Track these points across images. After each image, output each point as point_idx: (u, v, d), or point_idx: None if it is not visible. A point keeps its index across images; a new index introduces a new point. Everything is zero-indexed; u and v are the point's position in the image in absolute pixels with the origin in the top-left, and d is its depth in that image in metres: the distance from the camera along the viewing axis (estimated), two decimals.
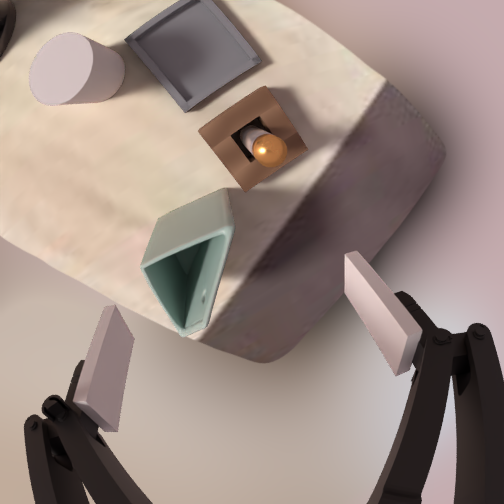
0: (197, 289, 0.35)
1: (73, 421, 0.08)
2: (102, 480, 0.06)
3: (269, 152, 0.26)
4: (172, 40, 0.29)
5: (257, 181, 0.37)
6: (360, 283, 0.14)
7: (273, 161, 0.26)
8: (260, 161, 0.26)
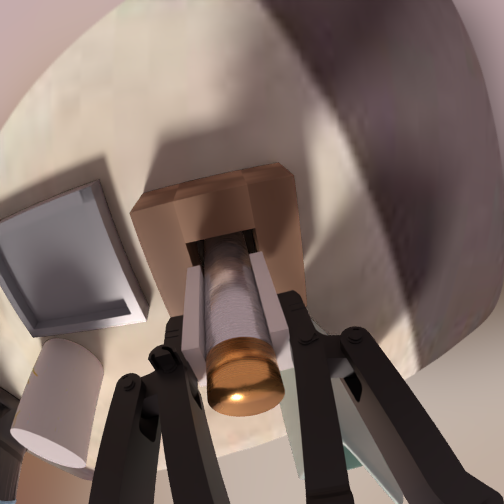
0: None
1: (180, 377, 0.10)
2: (187, 448, 0.07)
3: (246, 400, 0.10)
4: (42, 288, 0.21)
5: (301, 284, 0.20)
6: None
7: (270, 398, 0.10)
8: (257, 412, 0.11)
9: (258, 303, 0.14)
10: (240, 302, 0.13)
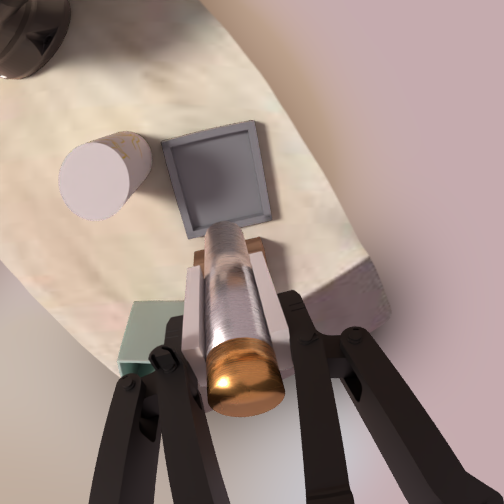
0: None
1: (180, 377, 0.10)
2: (187, 448, 0.07)
3: (246, 401, 0.10)
4: (204, 163, 0.37)
5: None
6: None
7: (270, 398, 0.10)
8: (257, 413, 0.11)
9: (258, 303, 0.14)
10: (240, 303, 0.13)
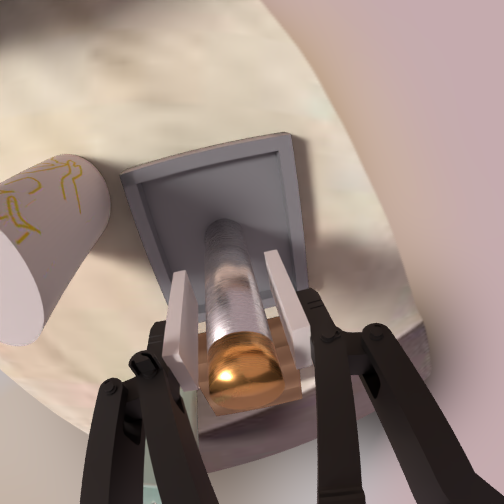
0: None
1: (160, 382, 0.10)
2: (172, 451, 0.07)
3: (247, 394, 0.11)
4: (198, 208, 0.21)
5: (234, 412, 0.29)
6: (272, 280, 0.15)
7: (270, 391, 0.11)
8: (257, 405, 0.11)
9: (258, 299, 0.14)
10: (240, 298, 0.14)
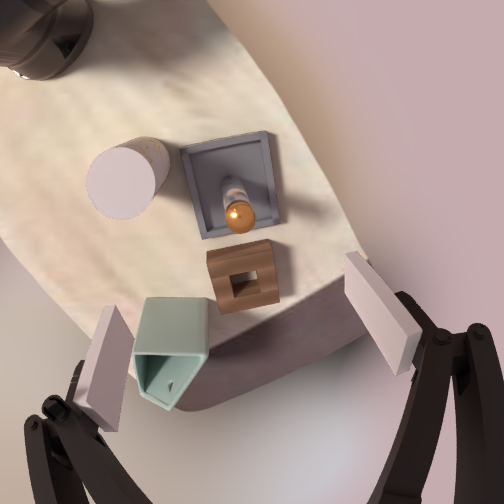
0: (163, 371, 0.43)
1: (73, 421, 0.08)
2: (102, 480, 0.06)
3: (241, 221, 0.29)
4: (219, 169, 0.40)
5: (233, 310, 0.48)
6: (360, 283, 0.14)
7: (250, 221, 0.29)
8: (245, 231, 0.30)
9: (247, 197, 0.33)
10: (239, 193, 0.32)
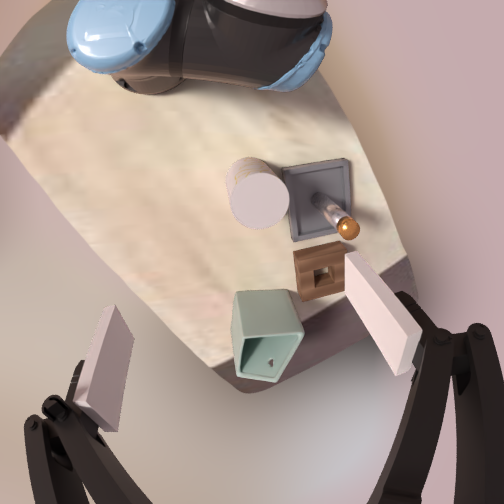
0: (259, 352, 0.55)
1: (73, 421, 0.08)
2: (102, 479, 0.06)
3: (350, 232, 0.40)
4: (310, 187, 0.51)
5: (312, 298, 0.59)
6: (360, 283, 0.14)
7: (356, 231, 0.41)
8: (352, 238, 0.41)
9: (345, 212, 0.44)
10: (342, 210, 0.43)
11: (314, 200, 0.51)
